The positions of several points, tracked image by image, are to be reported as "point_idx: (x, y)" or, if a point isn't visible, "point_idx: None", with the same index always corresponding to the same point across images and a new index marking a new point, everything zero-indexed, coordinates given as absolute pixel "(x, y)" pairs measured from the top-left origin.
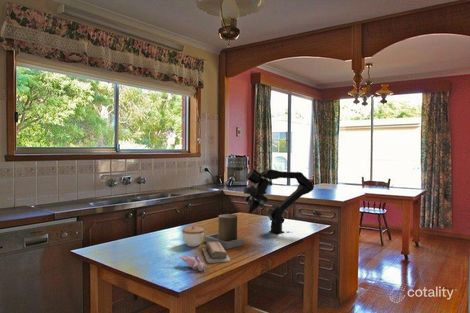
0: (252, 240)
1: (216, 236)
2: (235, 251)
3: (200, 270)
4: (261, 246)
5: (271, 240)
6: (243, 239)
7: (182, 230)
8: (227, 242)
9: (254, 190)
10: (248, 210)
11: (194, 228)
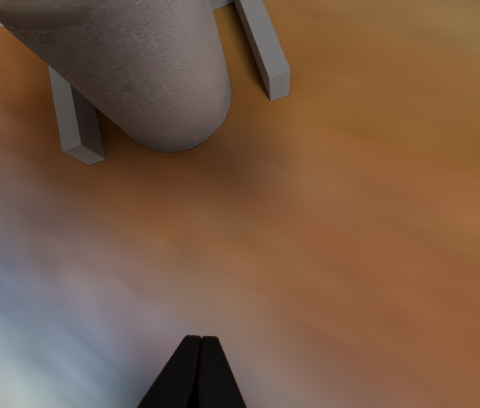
0: (144, 266)
1: (251, 36)
2: (17, 80)
3: None
4: (11, 251)
5: (81, 402)
6: (64, 151)
7: None
8: None
9: None
10: (222, 365)
11: None
